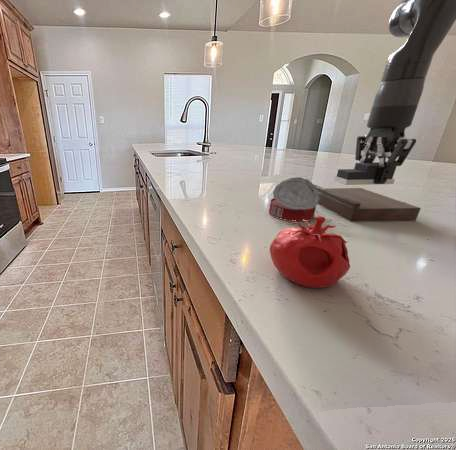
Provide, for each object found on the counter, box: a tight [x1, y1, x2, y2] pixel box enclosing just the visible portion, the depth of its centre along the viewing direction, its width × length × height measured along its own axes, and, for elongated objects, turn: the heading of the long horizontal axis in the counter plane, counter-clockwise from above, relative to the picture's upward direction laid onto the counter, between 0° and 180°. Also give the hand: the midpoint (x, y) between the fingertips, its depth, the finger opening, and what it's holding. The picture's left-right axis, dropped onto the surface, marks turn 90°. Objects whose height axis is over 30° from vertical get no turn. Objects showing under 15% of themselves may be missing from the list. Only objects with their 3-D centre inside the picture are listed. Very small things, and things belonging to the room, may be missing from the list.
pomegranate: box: [269, 215, 351, 289], centre depth 35 cm, size 10×10×9 cm
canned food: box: [268, 176, 319, 222], centre depth 59 cm, size 11×10×10 cm
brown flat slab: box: [314, 184, 422, 222], centre depth 62 cm, size 14×18×4 cm
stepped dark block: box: [333, 161, 398, 186], centre depth 59 cm, size 11×5×4 cm, turn 88°
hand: (370, 180), depth 60 cm, fingers closed on stepped dark block, 4 cm apart
